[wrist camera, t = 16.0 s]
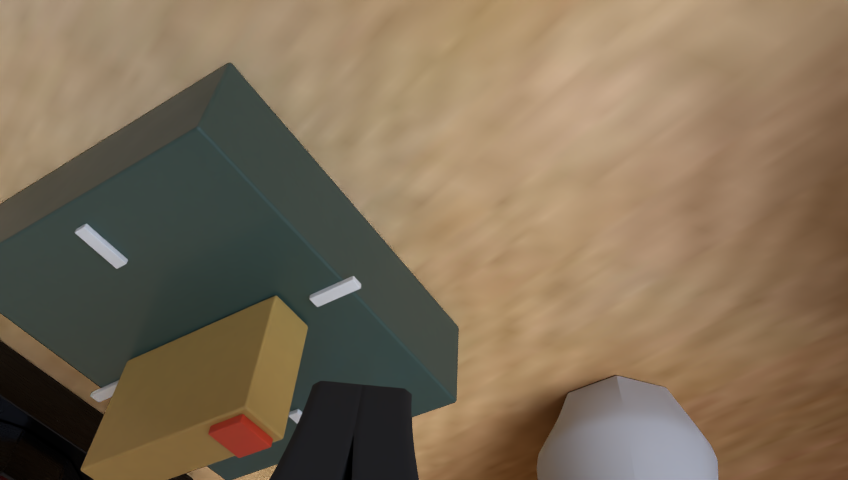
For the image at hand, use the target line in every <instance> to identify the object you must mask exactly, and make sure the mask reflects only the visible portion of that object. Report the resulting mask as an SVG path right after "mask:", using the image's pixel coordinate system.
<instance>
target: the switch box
mask: <svg viewBox="0 0 848 480" xmlns="http://www.w3.org/2000/svg"><path fill="white" fill-rule="evenodd" d="M103 416H104V415H102V414H101V413H100V412H98V411H97V410H95V409H94V408H93V407H91V406H90V405H89V404H87V403H86V402H84V401H83V400H82V399H80V398H79V397H77V396H76V395H75V394H73V393H72V392H70V391H69V390H68V389H66V388H65V387H63V386H62V385H61V384H59V383H58V382H56V381H55V380H54V379H52V378H51V377H50V376H48V375H47V374H45V373H44V372H43V371H41V370H40V369H38V368H37V367H36V366H34V365H33V364H31V363H30V362H29V361H27V360H26V359H24V358H23V357H22V356H20V355H19V354H17V353H16V352H15V351H13V350H12V349H10V348H9V347H8V346H6V345H5V344H4V343H2V342H1V341H0V480H94V479H92V478H91V477H89V476H88V475H86V474H85V473H83V472H82V471H81V466H82V464H83V462H84V460H85V457H86V455H87V453H88V450H89V448H90V446H91V443H92V441H93V439H94V437H95V434H96V432H97V430H98V427H99V425H100V423H101V421H102V418H103ZM168 480H193V479H192V478H190V477H189V476H187V475H186V474H182V475H179V476H177V477H174V478H171V479H168Z"/></svg>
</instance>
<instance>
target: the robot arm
mask: <svg viewBox="0 0 848 480" xmlns="http://www.w3.org/2000/svg"><path fill="white" fill-rule="evenodd" d="M411 403H412V394H411V393H410V392H408V391H407V390H406V389H405V388H394V387H383V386H373V385H362V384H352V383H341V382H331V381H319V382H317V383H315V384H313V385H312V388H311V391H310V394H309V397H308V400H307V402H306V405H305V407H304V410H303V412H302V415H301V417H300V419H299V422H298V424H297V426H296V428H295V431H294V433H293V435H292V437H291V439H290V441H289V443H288V445H287V447H286V449H285V451H284V453H283V455H282V457H281V459H280V461H279V463H278V465H277V467H276V469H275V471H274V473H273V474H272V476H271V478H270V480H419V478H418V472H417V465H416V459H415V451H414V442H413V432H412V412H411Z"/></svg>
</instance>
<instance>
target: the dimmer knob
mask: <svg viewBox="0 0 848 480" xmlns="http://www.w3.org/2000/svg"><path fill="white" fill-rule="evenodd" d="M307 330H308V326H307V325H306V324H305V323H304V322H303V321H302V320H301V319H300V318H299V317H298V316H297V315H296V314H295V313H294V312H293V311H292V310H291V309H290V308H289V307H288V306H287V305H286V304H285V303H284V302H283V301H282V300H281V299H280V298H279V297H278V296H273V297H270V298H268V299H266V300H264V301H261V302H259V303H257V304H255V305H252V306H250V307H248V308H246V309H243V310H241V311H239V312H237V313H234V314H232V315H230V316H228V317H225V318H223V319H221V320H219V321H216V322H214V323H212V324H210V325H207V326H205V327H203V328H201V329H198V330H196V331H194V332H192V333H189V334H187V335H185V336H183V337H180V338H178V339H176V340H174V341H171V342H169V343H167V344H165V345H162V346H160V347H158V348H156V349H153V350H151V351H149V352H147V353H144V354H142V355H140V356H138V357H135V358H133V359H131V360H129V361H128V362H127V363H126V366H125V368H124V370H123V372H122V375H121V377H120V379H119V382H118V384H117V386H116V388H115V391H114V393H113V395H112V398H111V400H110V402H109V405H108V407H107V409H106V411H105V414H104V416H103V418H102V421H101V423H100V425H99V427H98V430H97V432H96V434H95V437H94V439H93V441H92V443H91V446H90V448H89V450H88V453H87V455H86V457H85V460H84V462H83V464H82V466H81V471H82V472H83V473H85V474H86V475H88V476H89V477H91V478H92V479H94V480H168V479H171V478H174V477H177V476H179V475H182V474H185V473H188V472H191V471H194V470H196V469H199V468H202V467H205V466H208V465H211V464H213V463H216V462H219V461H222V460H225V459H228V458H230V457H233V456H237V457H238V458H241V457H244V456H247V455H250V454H253V453H256V452H259V451H261V450H264V449H267V448H270V447H271V446H272V443H273V442H276V441H278V440H281V439H283V437H284V434H285V429H286V425H287V420H288V416H289V411H290V407H291V402H292V398H293V393H294V389H295V384H296V380H297V375H298V371H299V366H300V362H301V357H302V353H303V348H304V344H305V339H306V335H307Z"/></svg>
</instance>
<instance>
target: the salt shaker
mask: <svg viewBox="0 0 848 480" xmlns="http://www.w3.org/2000/svg"><path fill="white" fill-rule="evenodd" d="M537 477H538V480H718V460H717V458H716V455H715V453H714V451H713V448H712V446H711V445H710V443H709V442H708V441H707V439H706V438H705V437H704V435H703V434H702V433H701V431H700V430H699V429H698V427H697V426H696V425H695V424H694V422H693V421H692V420H691V418H690V417H689V416H688V415H687V413H686V412H685V411H684V410H683V408H682V407H681V406H680V405H679V403H678V402H677V401H676V400H675V398H674V397H673V396H672V395H671V393H670V392H669V391H668V389H667V388H666V387H662V386H658V385H653V384H649V383H645V382H641V381H637V380H633V379H629V378H625V377H621V376H617V375H616V376H614V377H611V378H608V379H605V380H603V381H600V382H597V383H594V384H591V385H589V386H586V387H583V388H580V389H578V390H575V391H572V392H569V393H568V394H567V397H566V399H565V402H564V405H563V407H562V410H561V412H560V415H559V418H558V419H557V421H556V423H555V425H554V427H553V429H552V430H551V432H550V434H549V436H548V438H547V439H546V441H545V443H544V445H543V447H542V449H541V450H540V452H539V455H538V462H537Z"/></svg>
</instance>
